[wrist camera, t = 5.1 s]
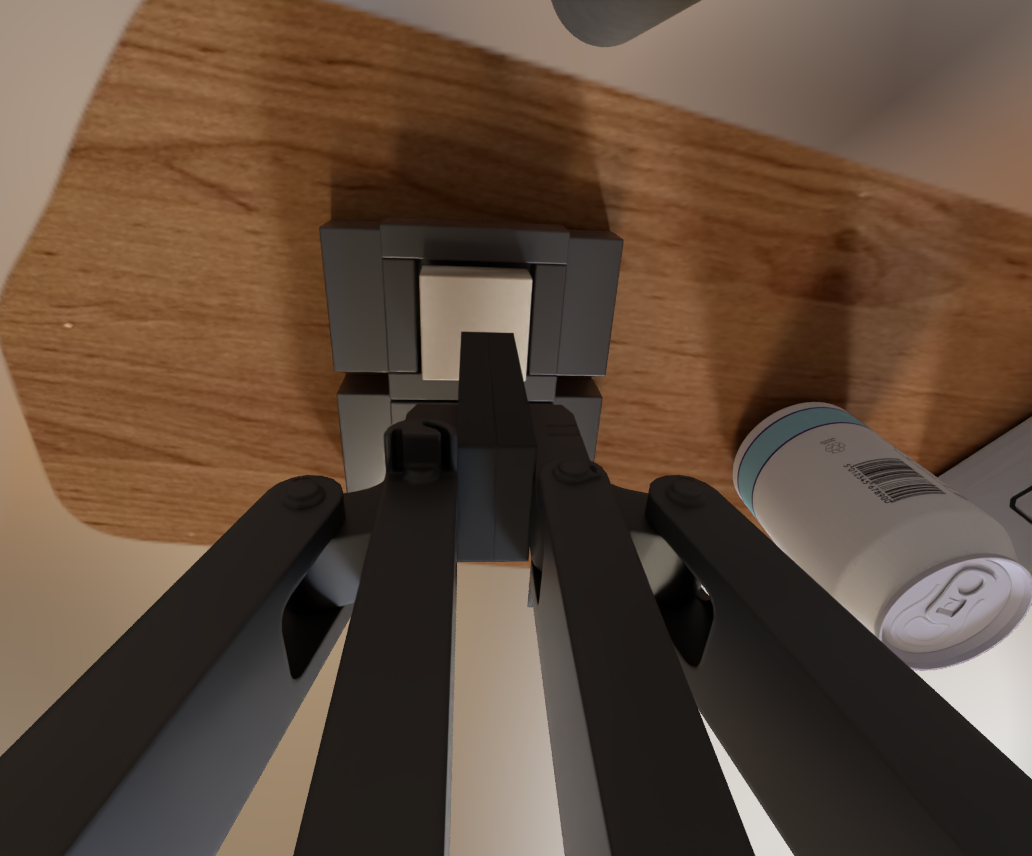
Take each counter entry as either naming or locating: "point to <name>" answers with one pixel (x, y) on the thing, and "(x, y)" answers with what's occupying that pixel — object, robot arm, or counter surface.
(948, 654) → the beverage can
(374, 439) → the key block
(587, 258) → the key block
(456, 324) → the c key
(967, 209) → the counter surface
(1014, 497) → the electrical switch
